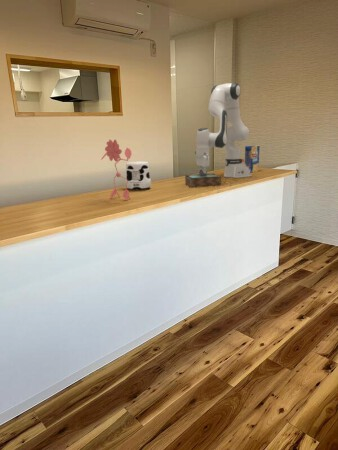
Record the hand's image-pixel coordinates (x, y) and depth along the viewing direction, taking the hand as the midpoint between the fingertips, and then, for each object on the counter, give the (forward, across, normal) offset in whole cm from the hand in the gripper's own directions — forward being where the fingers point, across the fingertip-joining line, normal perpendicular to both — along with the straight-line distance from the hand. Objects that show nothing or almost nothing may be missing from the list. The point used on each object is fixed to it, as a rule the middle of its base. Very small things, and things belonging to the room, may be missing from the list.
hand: (202, 172), depth 232 cm
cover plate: (+4, 0, 0) cm, 4 cm away
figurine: (+10, -31, +63) cm, 70 cm away
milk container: (+10, 0, +46) cm, 47 cm away
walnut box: (+9, 0, 0) cm, 9 cm away
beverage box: (+8, +46, -59) cm, 76 cm away
